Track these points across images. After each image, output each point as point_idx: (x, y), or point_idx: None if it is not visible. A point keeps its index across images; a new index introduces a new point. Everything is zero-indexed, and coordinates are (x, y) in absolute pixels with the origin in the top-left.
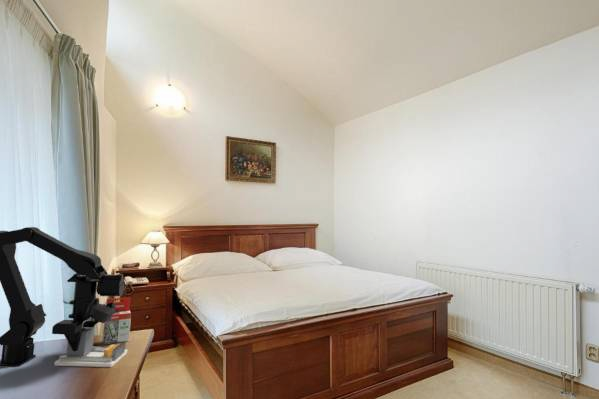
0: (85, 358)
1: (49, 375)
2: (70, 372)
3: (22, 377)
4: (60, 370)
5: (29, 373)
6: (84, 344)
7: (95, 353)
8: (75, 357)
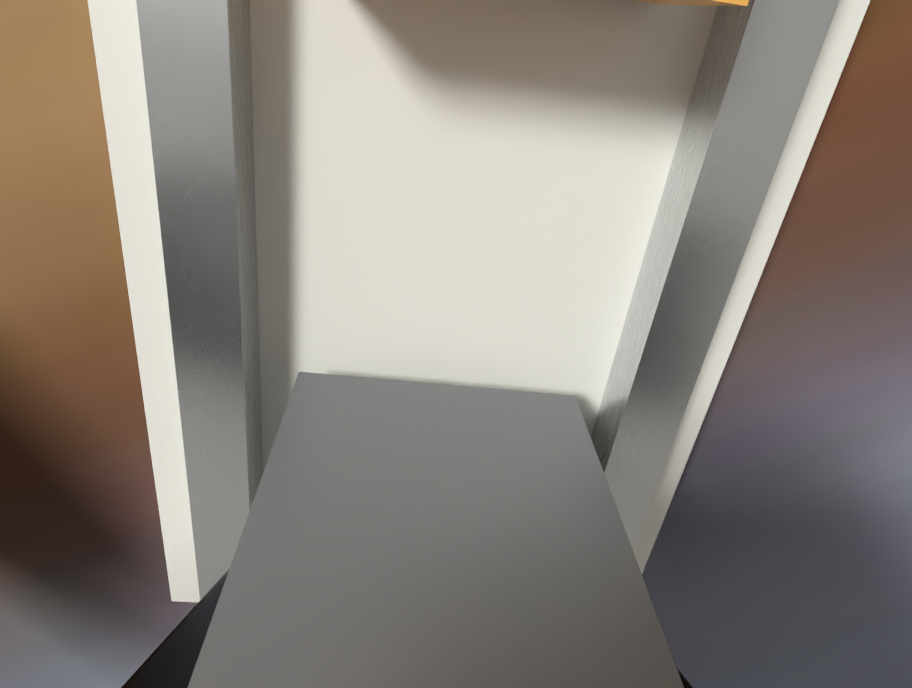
0: (703, 332)
1: (870, 526)
2: (877, 362)
3: (821, 682)
4: (768, 486)
5: (749, 676)
6: (631, 569)
7: (360, 277)
8: (657, 481)
